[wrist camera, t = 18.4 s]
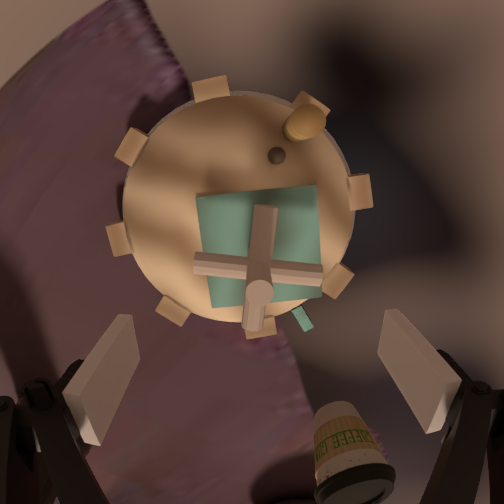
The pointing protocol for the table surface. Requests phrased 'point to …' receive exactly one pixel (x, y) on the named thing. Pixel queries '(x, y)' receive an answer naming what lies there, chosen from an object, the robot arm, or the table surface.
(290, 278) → the light wooden cross
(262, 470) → the table surface
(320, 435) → the coffee cup
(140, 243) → the sprocket
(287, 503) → the bowl
